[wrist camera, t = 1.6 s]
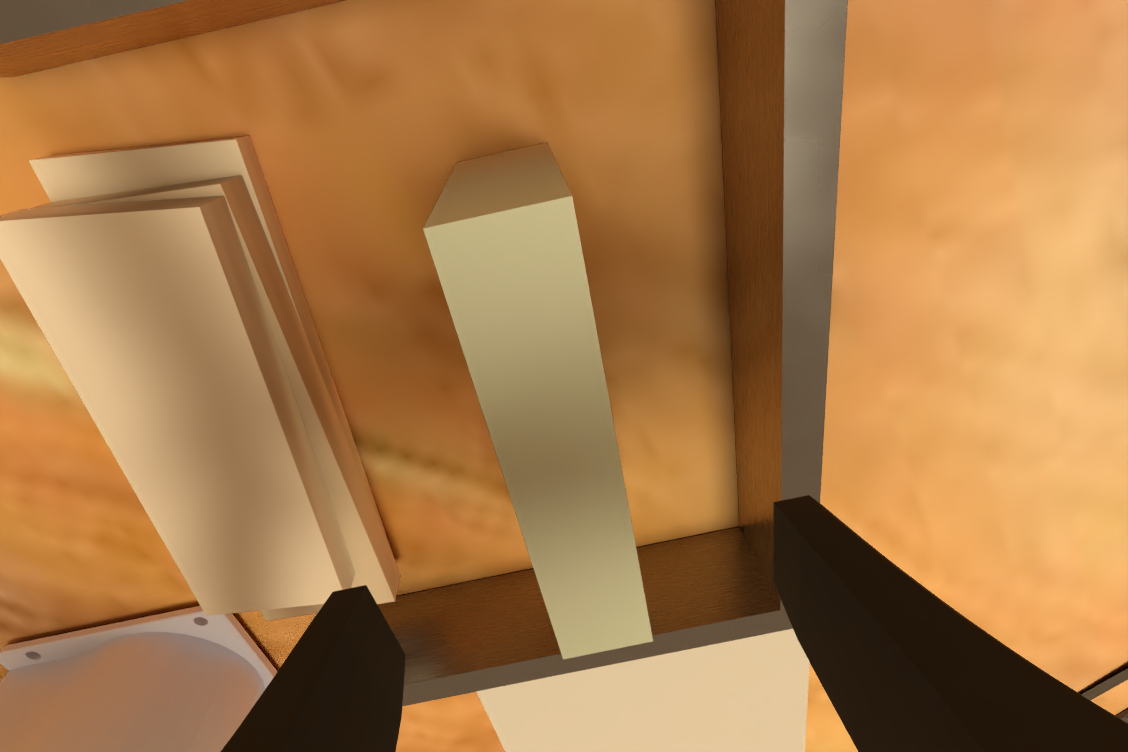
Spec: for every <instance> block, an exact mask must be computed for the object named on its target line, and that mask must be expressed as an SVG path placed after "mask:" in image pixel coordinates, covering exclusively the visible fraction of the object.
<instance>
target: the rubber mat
mask: <svg viewBox="0 0 1128 752" xmlns="http://www.w3.org/2000/svg"><path fill="white" fill-rule="evenodd" d="M809 663H810V662H809V660H808V658H807V656H806V654H805V652H804V650H803V649H802V647H801V645H800V643H799V641H798V639H797V637H796V634H795V632H794V630H793V629H789V630H784V631H779V632H774V633H769V634H764V635H759V636H754V637H748V638H743V639H738V640H733V641H728V642H723V643H718V644H713V645H708V646H703V647H698V648H693V649H688V650H683V651H678V652H673V653H668V654H663V655H658V656H653V657H648V658H643V659H638V660H632V661H627V662H622V663H617V664H612V665H607V666H602V667H597V668H592V669H587V670H582V671H577V672H572V673H567V674H562V675H557V676H552V677H547V678H542V679H537V680H532V681H527V682H522V683H517V684H511V685H506V686H501V687H496V688H491V689H486V690H481V691H476V692H477V694H478V696H479V698H480V700H481V702H482V704H483V706H484V708H485V710H486V713H487V715H488V717H489V719H490V721H491V723H492V725H493V727H494V729H495V731H496V733H497V735H498V737H499V740H500V742H501V744H502V746H503V748H504V750H505V752H805V738H806V719H807V701H808V682H809Z"/></svg>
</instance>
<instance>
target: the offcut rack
mask: <svg viewBox="0 0 1128 752" xmlns="http://www.w3.org/2000/svg"><path fill="white" fill-rule="evenodd" d="M341 1H345V0H0V77H15V76H19V75H23V74H28V73H32V72H36V71H41V70H45V69H49V68H54V67H58V66H62V65H67V64H71V63H75V62H80V61H84V60H88V59H93V58H97V57H101V56H106V55H110V54H115V53H119V52H123V51H128V50H132V49H136V48H141V47H145V46H149V45H154V44H158V43H162V42H167V41H171V40H175V39H180V38H184V37H188V36H193V35H197V34H201V33H206V32H210V31H214V30H219V29H223V28H228V27H232V26H236V25H241V24H245V23H249V22H254V21H258V20H262V19H267V18H271V17H275V16H280V15H284V14H288V13H293V12H297V11H301V10H306V9H310V8H314V7H319V6H323V5H327V4H332V3H336V2H341ZM847 4H848V0H716V21H717V43H718V65H719V87H720V109H721V132H722V154H723V176H724V198H725V220H726V242H727V264H728V286H729V308H730V330H731V352H732V374H733V396H734V418H735V440H736V462H737V484H738V507H739V527H736V528H731V529H726V530H721V531H716V532H712V533H707V534H702V535H697V536H692V537H687V538H682V539H677V540H672V541H667V542H662V543H657V544H653V545H648V546H643V547H638V548H636V550H637V555H638V561H639V566H640V572H641V577H642V583H643V588H644V594H645V599H646V605H647V610H648V616H649V621H650V627H651V632H652V638H653V641H652V642H647V643H642V644H637V645H632V646H628V647H623V648H618V649H613V650H608V651H603V652H598V653H593V654H588V655H583V656H578V657H573V658H568V659H563V657H562V654H561V651H560V648H559V645H558V642H557V639H556V636H555V633H554V630H553V627H552V624H551V621H550V618H549V614H548V611H547V608H546V605H545V602H544V599H543V596H542V593H541V590H540V587H539V584H538V581H537V578H536V574H535V571H534V569H529V570H525V571H520V572H515V573H510V574H505V575H500V576H495V577H490V578H485V579H480V580H475V581H470V582H465V583H461V584H456V585H451V586H446V587H441V588H436V589H431V590H426V591H421V592H416V593H411V594H406V595H402V596H397V597H396V600H395V602H388V603H382V604H377V605H378V607H379V608H380V610H381V612H382V614H383V616H384V617H385V619H386V621H387V623H388V624H389V626H390V628H391V630H392V631H393V633H394V635H395V637H396V639H397V640H398V642H399V644H400V646H401V647H402V649H403V651H404V653H405V655H406V656H405V674H404V691H403V702H402V706H406V705H411V704H416V703H421V702H426V701H431V700H436V699H441V698H446V697H451V696H456V695H461V694H466V693H471V692H476V691H481V690H486V689H491V688H496V687H501V686H506V685H511V684H517V683H522V682H527V681H532V680H537V679H542V678H547V677H552V676H557V675H562V674H567V673H572V672H577V671H582V670H587V669H592V668H597V667H602V666H607V665H612V664H617V663H622V662H627V661H632V660H638V659H643V658H648V657H653V656H658V655H663V654H668V653H673V652H678V651H683V650H688V649H693V648H698V647H703V646H708V645H713V644H718V643H723V642H728V641H733V640H738V639H743V638H748V637H754V636H759V635H764V634H769V633H774V632H779V631H784V630H789V629H793V627H792V625H791V623H790V620H789V618H788V616H787V613H786V611H785V608H784V606H783V603H782V601H781V598H780V596H779V593H778V591H777V588H776V586H775V584H774V502H777V501H782V500H787V499H792V498H797V497H802V496H807V495H809V496H811V497H812V498H814V499H815V500H817V501H818V502H819V503H820V491H821V473H822V455H823V437H824V419H825V401H826V383H827V365H828V347H829V329H830V311H831V293H832V275H833V257H834V239H835V221H836V203H837V185H838V167H839V149H840V131H841V113H842V94H843V76H844V58H845V40H846V22H847Z"/></svg>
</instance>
